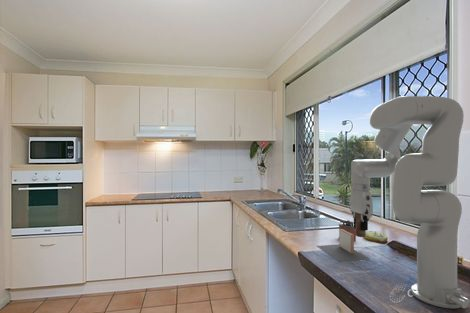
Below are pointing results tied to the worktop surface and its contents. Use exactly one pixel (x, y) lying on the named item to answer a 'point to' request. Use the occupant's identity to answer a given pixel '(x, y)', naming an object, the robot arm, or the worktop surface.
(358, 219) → the brown wooden block
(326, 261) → the worktop surface
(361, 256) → the mat
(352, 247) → the tile
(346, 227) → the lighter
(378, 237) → the decorated donut
